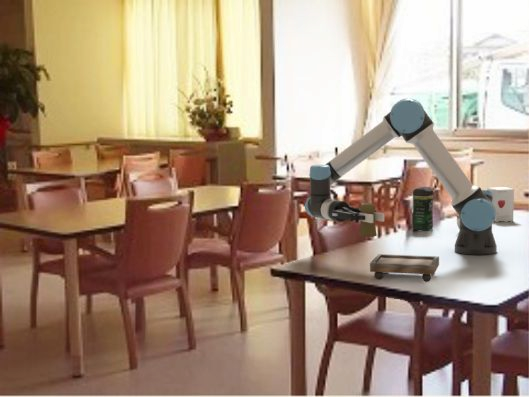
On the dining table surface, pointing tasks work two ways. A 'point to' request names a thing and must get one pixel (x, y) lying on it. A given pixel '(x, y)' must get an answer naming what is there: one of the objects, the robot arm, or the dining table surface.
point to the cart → (404, 265)
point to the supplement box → (503, 203)
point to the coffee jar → (422, 208)
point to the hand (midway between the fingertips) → (377, 218)
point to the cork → (366, 227)
